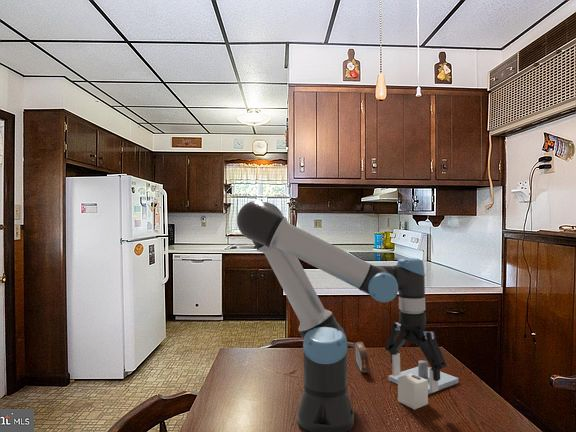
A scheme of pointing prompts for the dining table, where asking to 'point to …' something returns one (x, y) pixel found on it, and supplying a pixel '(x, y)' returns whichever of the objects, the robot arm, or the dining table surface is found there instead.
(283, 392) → the dining table surface
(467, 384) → the dining table surface
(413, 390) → the cream box with handle
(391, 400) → the dining table surface
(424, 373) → the panel
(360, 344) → the tin
